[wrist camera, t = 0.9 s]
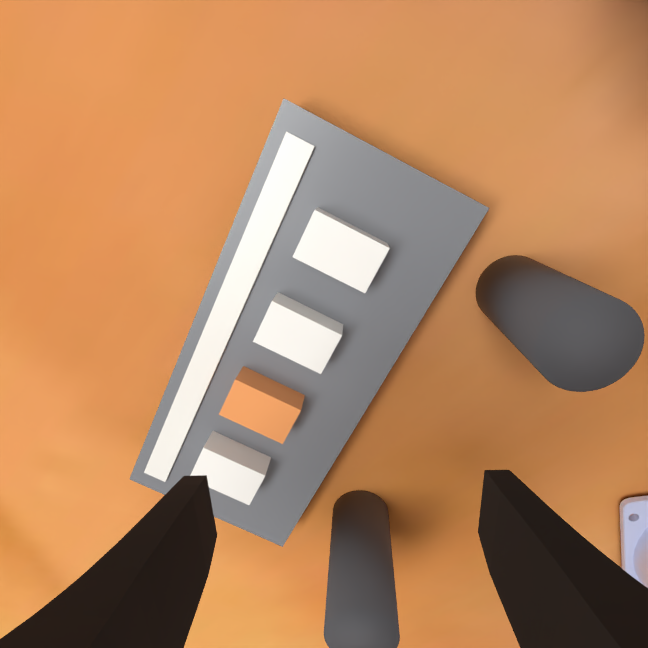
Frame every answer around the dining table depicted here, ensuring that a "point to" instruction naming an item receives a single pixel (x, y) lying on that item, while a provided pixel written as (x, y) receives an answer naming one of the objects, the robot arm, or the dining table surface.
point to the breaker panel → (302, 320)
